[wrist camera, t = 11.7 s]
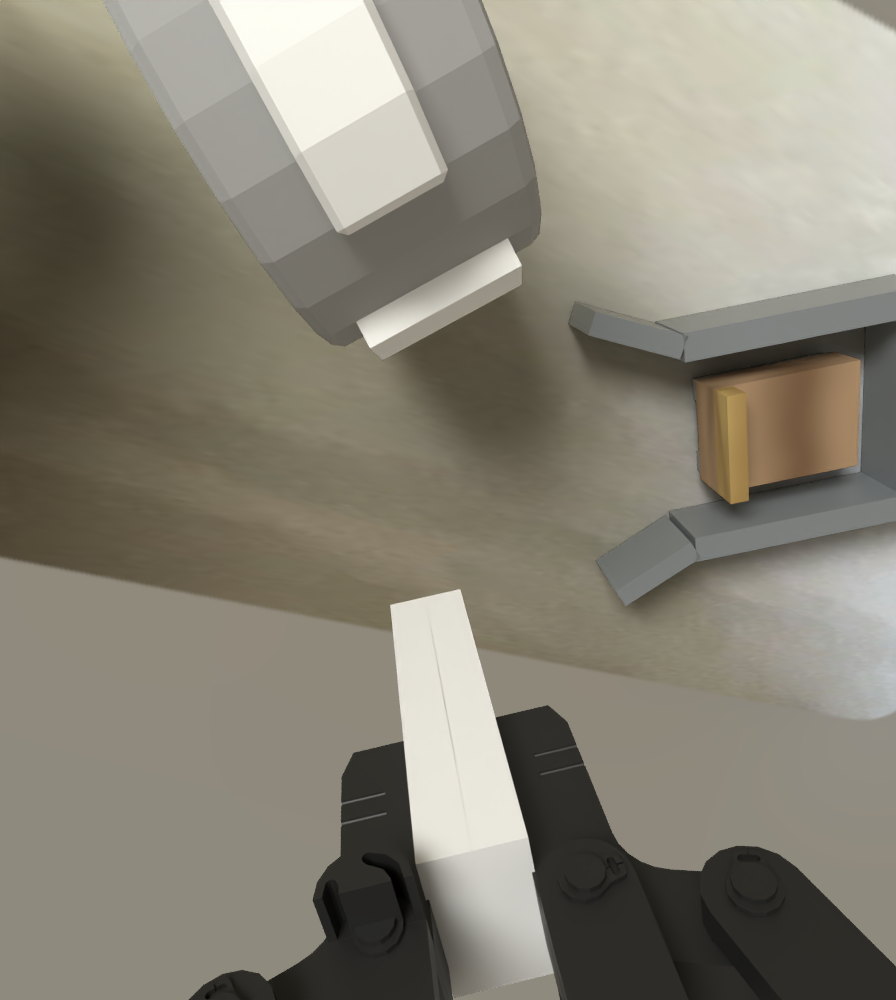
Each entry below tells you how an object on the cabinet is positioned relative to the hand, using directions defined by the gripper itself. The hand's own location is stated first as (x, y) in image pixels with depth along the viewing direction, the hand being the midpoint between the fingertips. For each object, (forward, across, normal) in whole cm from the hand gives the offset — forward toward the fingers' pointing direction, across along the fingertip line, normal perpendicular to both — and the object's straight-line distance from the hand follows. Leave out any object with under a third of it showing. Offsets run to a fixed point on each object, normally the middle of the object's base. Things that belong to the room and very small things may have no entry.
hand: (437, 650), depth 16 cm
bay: (+26, +19, -7) cm, 33 cm away
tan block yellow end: (+27, +21, -7) cm, 34 cm away
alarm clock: (+28, +1, +12) cm, 30 cm away
